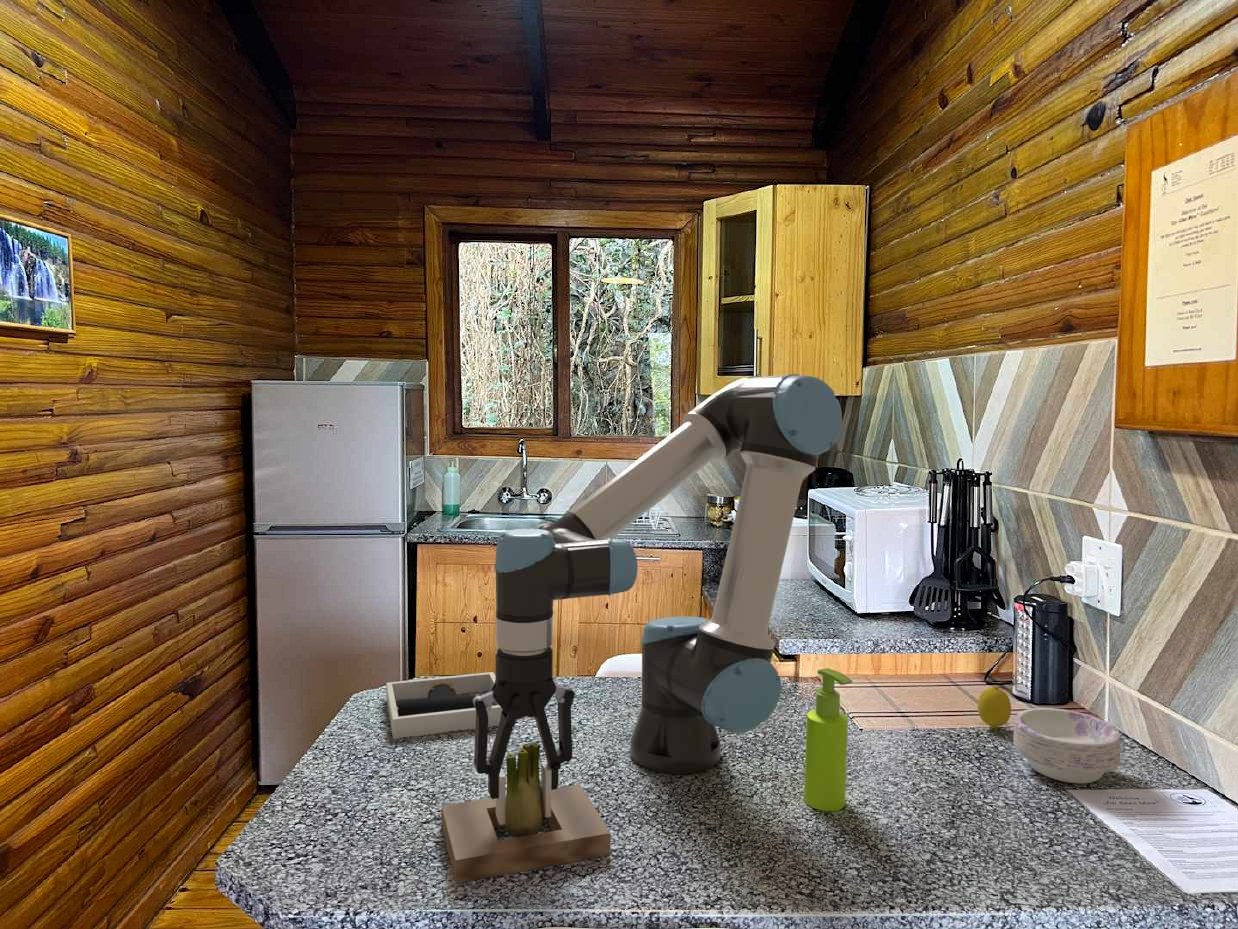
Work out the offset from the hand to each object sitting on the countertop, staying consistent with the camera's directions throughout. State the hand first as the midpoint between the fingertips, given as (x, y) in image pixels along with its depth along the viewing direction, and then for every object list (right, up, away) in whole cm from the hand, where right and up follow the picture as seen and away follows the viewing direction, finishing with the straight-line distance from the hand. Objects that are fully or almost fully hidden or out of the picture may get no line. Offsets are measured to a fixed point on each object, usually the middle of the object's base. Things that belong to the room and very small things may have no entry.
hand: (523, 815), depth 108 cm
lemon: (+82, -2, +39) cm, 91 cm away
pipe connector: (-20, 0, +42) cm, 47 cm away
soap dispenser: (+44, -3, +11) cm, 45 cm away
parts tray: (-20, 0, +44) cm, 48 cm away
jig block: (0, -3, 0) cm, 3 cm away
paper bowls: (+85, -3, +23) cm, 88 cm away
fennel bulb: (0, -3, 0) cm, 3 cm away
